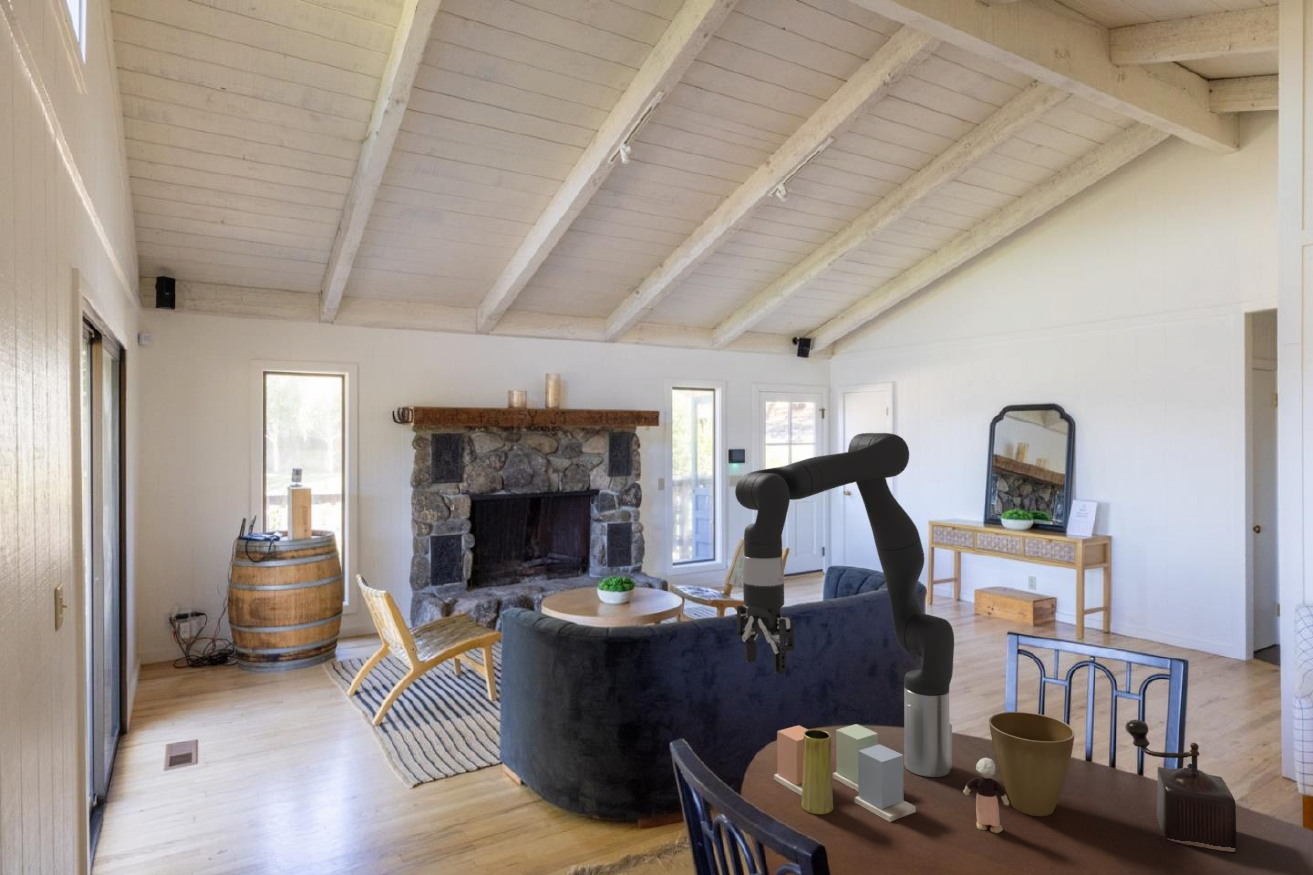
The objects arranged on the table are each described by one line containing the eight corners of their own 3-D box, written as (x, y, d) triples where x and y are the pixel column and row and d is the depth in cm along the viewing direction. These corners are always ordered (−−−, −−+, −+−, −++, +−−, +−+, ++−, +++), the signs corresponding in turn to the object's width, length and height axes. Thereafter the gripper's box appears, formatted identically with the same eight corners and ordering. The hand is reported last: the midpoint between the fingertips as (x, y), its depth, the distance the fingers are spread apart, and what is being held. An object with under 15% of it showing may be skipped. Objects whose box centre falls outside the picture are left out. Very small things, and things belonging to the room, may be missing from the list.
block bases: (836, 759, 168) (836, 755, 168) (929, 806, 147) (929, 801, 147) (773, 779, 158) (773, 774, 158) (863, 832, 137) (863, 826, 137)
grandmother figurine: (1007, 825, 139) (1007, 757, 139) (1010, 835, 136) (1009, 765, 136) (962, 818, 142) (962, 751, 142) (964, 828, 138) (963, 759, 138)
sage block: (856, 765, 162) (856, 723, 162) (878, 776, 157) (878, 733, 157) (836, 772, 159) (836, 729, 159) (857, 783, 154) (857, 739, 154)
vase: (833, 816, 143) (833, 741, 143) (800, 813, 144) (800, 738, 144) (832, 801, 149) (832, 729, 149) (801, 798, 150) (801, 726, 150)
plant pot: (997, 782, 157) (997, 705, 157) (1079, 802, 148) (1079, 721, 148) (981, 811, 144) (981, 728, 144) (1069, 835, 136) (1069, 747, 136)
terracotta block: (798, 767, 161) (798, 725, 161) (818, 777, 156) (818, 734, 156) (777, 773, 158) (777, 730, 158) (796, 784, 153) (796, 740, 153)
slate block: (879, 788, 151) (879, 744, 151) (903, 801, 146) (903, 754, 146) (858, 796, 148) (858, 750, 148) (882, 809, 143) (881, 761, 143)
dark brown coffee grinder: (1221, 824, 140) (1221, 727, 140) (1238, 855, 130) (1238, 750, 130) (1123, 807, 146) (1123, 714, 146) (1132, 834, 136) (1132, 735, 136)
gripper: (804, 584, 136) (806, 673, 136) (756, 572, 148) (757, 654, 148) (771, 588, 132) (773, 681, 132) (724, 576, 144) (726, 660, 144)
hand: (764, 667), depth 140 cm, fingers open, 8 cm apart
